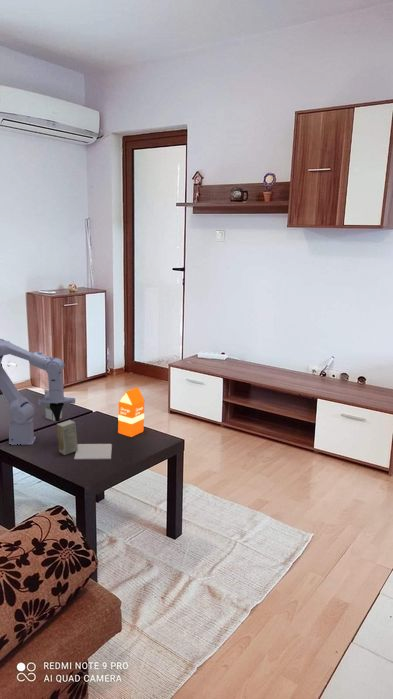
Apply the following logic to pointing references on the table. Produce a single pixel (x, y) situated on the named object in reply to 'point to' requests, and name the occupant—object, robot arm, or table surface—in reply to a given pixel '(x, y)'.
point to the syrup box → (48, 411)
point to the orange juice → (131, 413)
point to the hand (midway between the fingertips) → (57, 420)
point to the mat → (93, 451)
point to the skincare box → (67, 437)
